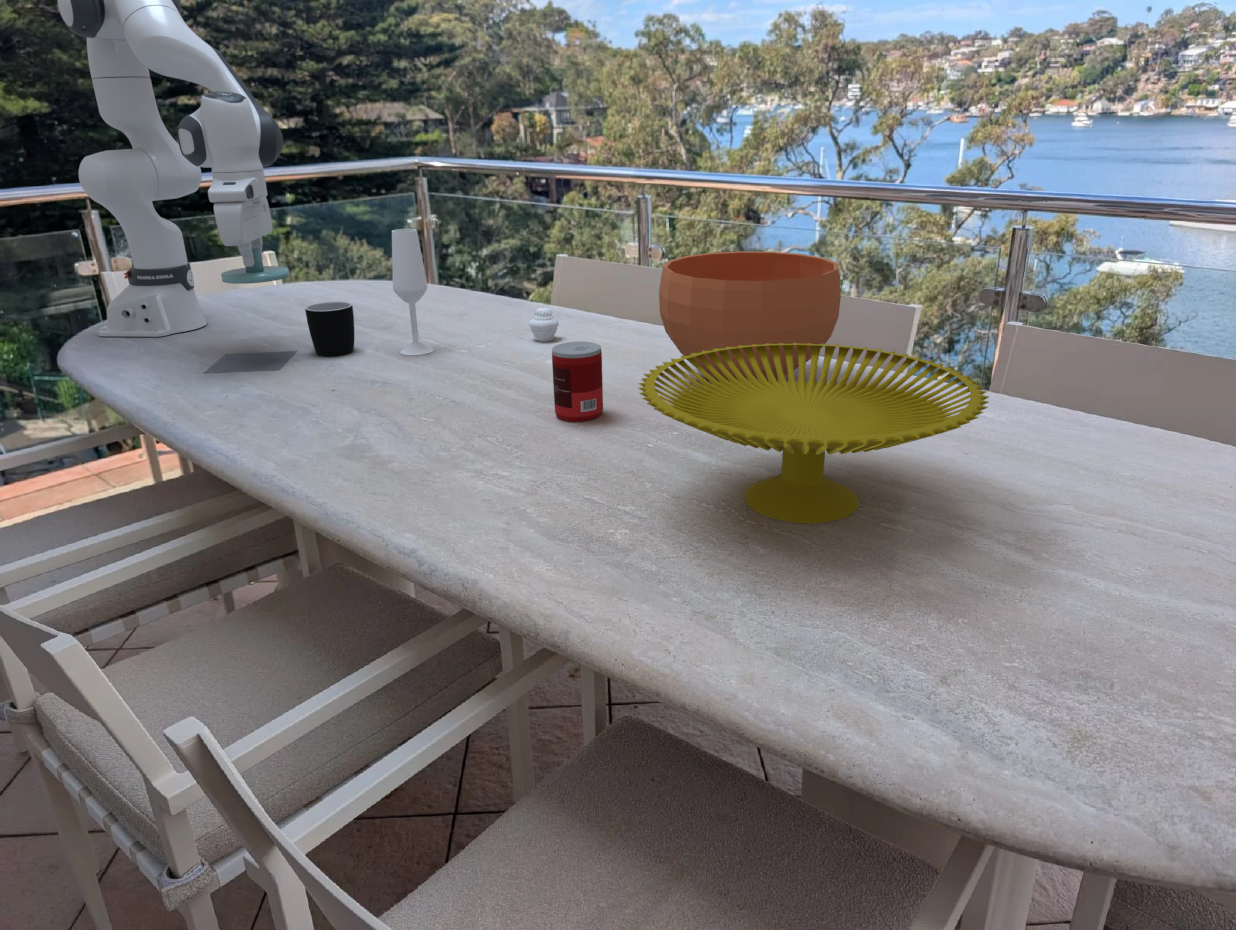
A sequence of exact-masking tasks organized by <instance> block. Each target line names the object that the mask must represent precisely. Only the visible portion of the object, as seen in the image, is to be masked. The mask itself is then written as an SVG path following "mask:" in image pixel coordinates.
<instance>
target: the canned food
mask: <svg viewBox="0 0 1236 930" xmlns="http://www.w3.org/2000/svg"><path fill="white" fill-rule="evenodd" d="M602 352H603V351H602V345H600V344H598V343H595V342H590V341H569V342H568V341H567V342H563V343H559V344H556V345H555V346H553V347H552V348H551V359H552V360H551V364H552V365H551V366H552V378H553V379H552V384H553V398H554V399H553V401H554V404H553V405H554V413H555V414H556V417H557V418H558V419H559V420H562V421H565V422H571V423H572V422H574V423H575V422H576V423H579V422H581V423H582V422H588V421H592V420H595V419H598V418H599V417H600V416H601V415H602V414H603V411H604V392H603V390H604V389H603V387H604V386H603V355H602V354H603V353H602Z"/></svg>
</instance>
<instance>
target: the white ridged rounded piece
mask: <svg viewBox="0 0 1236 930" xmlns="http://www.w3.org/2000/svg"><path fill="white" fill-rule="evenodd" d="M528 322H529V323H528V326H529V327H530V330H531V332H532V334H533V336H534V338H535V339H536V341H538V342H543V343H546V342H551V341H552V340H553V339H554V337H555V334H556V333H557V330H558V326H559V320H558V319H557V318H556V317H555V316H554V314H553V311H552V310H551V309H550V308H548V307H544V306H543V307H539V308H536V310H535V311H534V315H533V316H532V318H531V319H530V320H529V321H528Z"/></svg>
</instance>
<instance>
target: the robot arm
mask: <svg viewBox="0 0 1236 930" xmlns="http://www.w3.org/2000/svg"><path fill="white" fill-rule="evenodd" d="M57 5H58V7H57V8H58V11H59V14H60V16H61V19H62V21H63V23H64V25H65V26H66V27H67V28H68V29H69V30H70V31H71V32H72V33H73V34H75V35H77V36H79V37H83V38H86V48H87V49H86V52H87V60H88V66H89V72H90V73H89V74H90V76H91V80H92V81H91V82H92V86H93V90H94V95H95V99H96V103H97V107H98V112H99V115H100V117H101V118H102V120H103V122H105V124H107V125H108V126H110V127H112V128H113V129H116V130H118V131H120V132H121V133H123V134H124V135H125V136H126V137H127V139H128V140H129V143H130V145H131V146H132V148H130V149H129V148H128V149H127V148H125V149H111V150H104V151H99V152H96V153H93V154H90V155H86V156H84V158H83V159H81V162H80V164H79V166H78V167H79V168H78V179H79V180H78V181H79V184H80V185H81V188H82V190H83V191H84V193H85V194H86V195H87V197H89V198H90V199H91V200H93V202H95V203H97V204H99V205H101V206H103V207H104V208H105V209H106V211H107V210H108V211H109V212H110V214H111V215H112V216H113V217H115V219H116V220H117V223H119V225H120V227H121V228H122V231H123V233H124V235H125V239H126V242H127V245H128V248H129V253H130V257H131V260H132V264H133V266H132V267H131V268H130V269H129V270H127V271H126V272H124V273H123V275H124V279H126V280H127V281H128V285H127V286H126V287H125V288H124V289H123V290H122V291H121V292H120V293H119V294H118V295H117V296H116V297H115V298H113V299H112V301H111V302H109V304H108V305H107V308H106V321H107V322H106V323H107V324H104V325H103V326H101V327H100V328H99V329H98V332H97V333H98V336H99V337H135V338H137V337H151V338H152V337H154V338H155V337H165V336H168V335H169V336H170V335H172V334H178V333H183V332H190V331H193V330H197V329H200V328H203V327H205V326H206V325H208V321H207V319H206V317H205V315H204V313H203V311H202V309H201V307H200V304H199V301H198V298H197V295H196V291H195V279H194V275H193V271H192V268H191V263H189V262H188V257H187V256H188V255H187V252H186V247H185V241H184V237H183V233H182V231H181V228H180V227H179V226H178V225H177V224H175V223H174V222H173V221H170V220H169V219H167V218H164V217H161V216H160V214H158V212H157V211H156V209H155V206H154V203H153V202H155V201H164V200H165V201H166V200H174V199H179V198H182V197H185V196H188V195H191V194H194V193H195V192H197V191H198V190H199V188H200V186H201V183H202V169H201V168H203V169H204V168H205V169H206V168H207V169H208V168H210V169H211V175H212V181H211V182H212V183H211V185H210V187H209V188H208V189H207V196H208V200H209V202H210V203H213V213H214V219H215V223H216V226H217V230H218V235H219V238H220V239H219V240H221V243H222V244H223V245H224V246H225V247H237V250H238V251H239V254H240V256H241V257H242V263H243V265H244V267H245V266H246V267H249V266H254V265H255V264H256V262H255V256H253V253H252V250H251V249H261V255H262V261H263V260H264V259H263V258H264V257H263V253H262V252H263V243H264V242H263V236H266V235H268V234H270V233H272V232H273V220H272V215H271V210H270V206H269V202H268V199H267V197H268V190H267V183H266V177H265V172H264V171H265V170H264V167H271V166H272V165H273V164H274V162H276V160H277V159H278V158H279V157H280V155H281V153H282V152H283V149H284V138H283V134H282V131H281V128H280V126H279V125H278V123H277V121H276V120H275V119H274V118H273V117H272V115H271V114H269V112H267V111H266V110H265V109H264V108H263V107H262V106H261V105H260V104H259V102H258V101H257V100H256V98H255V97H254V95H253V94H252V93H251V91H250V90H249V89H248V87H247V86H246V85H245V83H244V82H243V80H242V79H241V77H239V75H238V73H237V72H236V71H235V69H234V68H233V67H232V66H231V65H230V63H229V62H228V60H227V58H225V57H224V55H223V54H222V53H221V52H220V51H219V50H218V49H216V48H215V47H213V46H212V45H211V44H208V42H206V41H204V40H203V39H202V38H201V37H200V36H199V35H197V34H196V33H195V32H194V31H193V30H192V29H191V27H189V26H188V24H187V23H186V22H185V21H184V18H183V16H182V9H181V5H180V2H179V0H57ZM149 70H150V71H151V72H154V73H156V74H159V75H162V76H165V77H168V78H173V79H177V80H182V81H187V82H190V83H193V84H197V85H199V86H203V87H204V88H206V89H208V90H210V91H211V92H210V91H209V92H206V93H204V94H203V95H202V96H201V101H200V106H199V107H198V109H196V110H195V111H194V112H192V113H191V114H186V115H185V116H184V117H183V118H182V120H180V121H179V123H178V126H177V127H176V134H177V135H176V136H177V141H176V140H175V139H174V138H173V136H172V135H171V133H170V132H169V130H168V129H167V128H166V126H165V124H164V122H163V120H162V117H161V115H160V111H159V108H158V105H157V102H156V97H155V93H154V88H153V84H152V79H151V76H150V75H151V74H150V71H149Z"/></svg>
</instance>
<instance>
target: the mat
mask: <svg viewBox="0 0 1236 930" xmlns="http://www.w3.org/2000/svg"><path fill="white" fill-rule="evenodd" d="M297 352H298V350H288V351H285V350H284V351H267V352H266V351H263V352H259V351H258V352H241V353H238V352H237V353H235V352H234V353H225V354H224V355H223V356H221V357H220V358H219V359H218V360H217V361H216V362H214V363H213V364H212V365H211V366H210V367H208V368H207V369H206V370H205V371H204V372H203V374H221V373H223V374H226V373H243V372H244V373H246V372H268V371H269V372H270V371H272V372H273V371H280V370H281V369H282V368H283V367H284V366H285V365H286V364H287V363H288V362H289V361H290V360H291V358H293V357H294V355H296V354H297Z"/></svg>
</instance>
